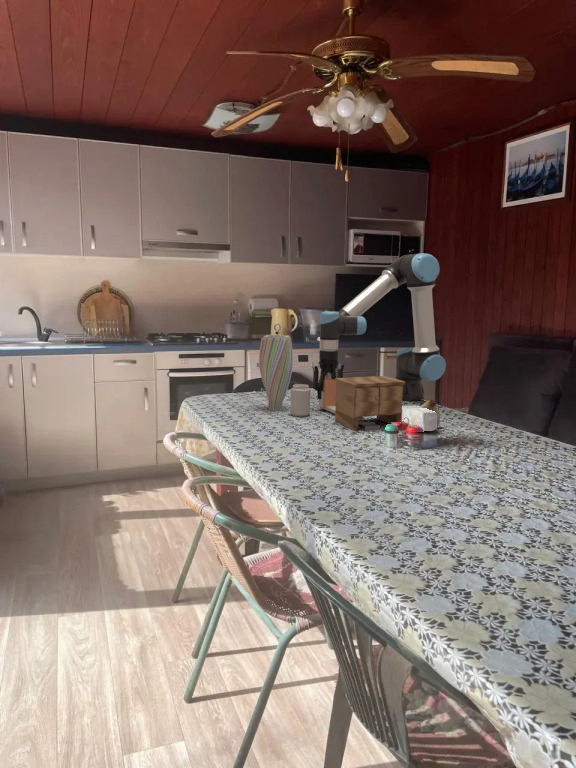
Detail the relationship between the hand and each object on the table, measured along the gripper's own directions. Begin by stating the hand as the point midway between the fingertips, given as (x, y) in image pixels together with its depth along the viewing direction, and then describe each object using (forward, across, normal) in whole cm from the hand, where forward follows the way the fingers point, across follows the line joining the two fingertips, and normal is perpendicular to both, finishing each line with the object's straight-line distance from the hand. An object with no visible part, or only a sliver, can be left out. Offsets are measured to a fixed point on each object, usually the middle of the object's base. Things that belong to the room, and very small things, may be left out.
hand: (327, 406), depth 241 cm
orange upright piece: (+1, 0, +12) cm, 12 cm away
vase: (+2, +20, -8) cm, 21 cm away
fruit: (+2, -17, +44) cm, 47 cm away
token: (+2, 0, +34) cm, 34 cm away
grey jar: (+2, +15, +6) cm, 16 cm away
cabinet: (+2, -3, +27) cm, 27 cm away
